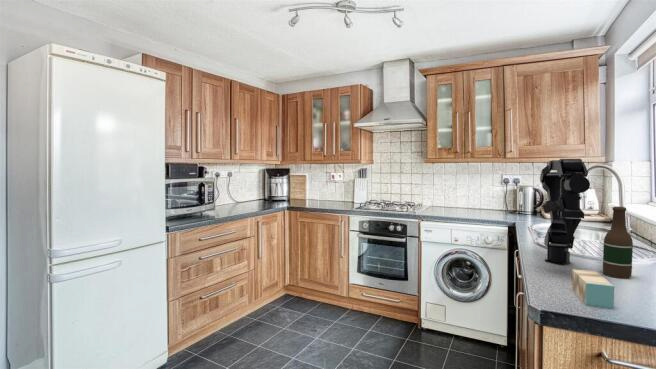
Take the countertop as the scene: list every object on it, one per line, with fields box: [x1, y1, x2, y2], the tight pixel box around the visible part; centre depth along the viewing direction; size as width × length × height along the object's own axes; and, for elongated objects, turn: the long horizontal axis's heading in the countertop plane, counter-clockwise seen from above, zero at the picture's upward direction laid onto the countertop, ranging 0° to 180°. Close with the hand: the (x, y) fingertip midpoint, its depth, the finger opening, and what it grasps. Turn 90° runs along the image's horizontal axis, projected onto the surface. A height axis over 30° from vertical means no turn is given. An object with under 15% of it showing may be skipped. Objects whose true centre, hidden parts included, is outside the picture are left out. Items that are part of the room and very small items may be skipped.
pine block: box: [571, 269, 615, 309], centre depth 96 cm, size 6×6×14 cm
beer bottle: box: [602, 206, 634, 280], centre depth 115 cm, size 8×8×24 cm
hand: (569, 237), depth 118 cm, fingers closed
